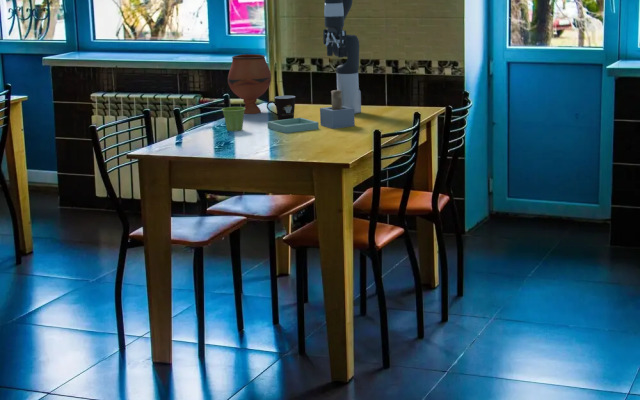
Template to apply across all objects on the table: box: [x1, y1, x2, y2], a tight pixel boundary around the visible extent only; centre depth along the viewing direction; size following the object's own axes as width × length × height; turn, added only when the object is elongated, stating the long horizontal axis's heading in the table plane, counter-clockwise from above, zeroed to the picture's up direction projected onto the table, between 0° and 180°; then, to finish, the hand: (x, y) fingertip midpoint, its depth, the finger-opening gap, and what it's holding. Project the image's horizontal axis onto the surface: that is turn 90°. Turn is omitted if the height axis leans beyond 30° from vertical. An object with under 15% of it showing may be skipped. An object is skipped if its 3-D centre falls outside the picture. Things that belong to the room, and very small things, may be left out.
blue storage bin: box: [319, 106, 356, 130], centre depth 415 cm, size 10×10×7 cm
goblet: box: [227, 53, 272, 115], centre depth 454 cm, size 19×19×25 cm
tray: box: [267, 117, 320, 134], centre depth 413 cm, size 15×15×3 cm
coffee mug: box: [266, 95, 296, 120], centre depth 431 cm, size 12×9×10 cm
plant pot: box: [221, 106, 245, 132], centre depth 413 cm, size 9×9×9 cm
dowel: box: [330, 89, 342, 110], centre depth 415 cm, size 4×4×14 cm
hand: (335, 56), depth 410 cm, fingers open, 8 cm apart
